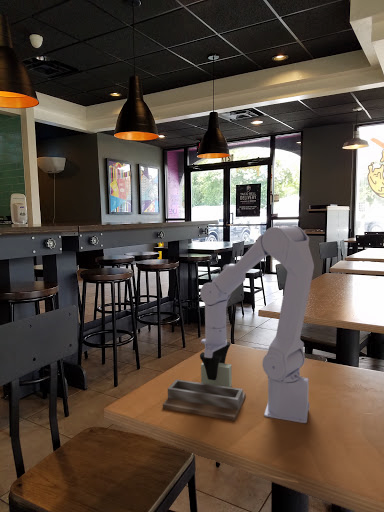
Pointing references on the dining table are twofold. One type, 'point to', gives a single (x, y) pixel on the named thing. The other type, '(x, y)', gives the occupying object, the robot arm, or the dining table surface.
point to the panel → (218, 375)
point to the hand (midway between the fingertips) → (216, 373)
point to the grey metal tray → (204, 399)
